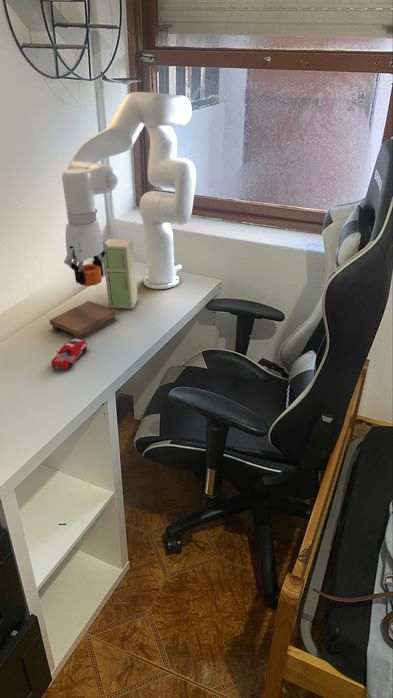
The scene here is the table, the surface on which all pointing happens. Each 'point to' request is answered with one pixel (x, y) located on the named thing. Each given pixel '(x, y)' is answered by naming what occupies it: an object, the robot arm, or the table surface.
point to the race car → (69, 354)
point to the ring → (92, 274)
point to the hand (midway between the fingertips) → (89, 278)
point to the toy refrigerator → (120, 273)
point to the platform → (84, 319)
